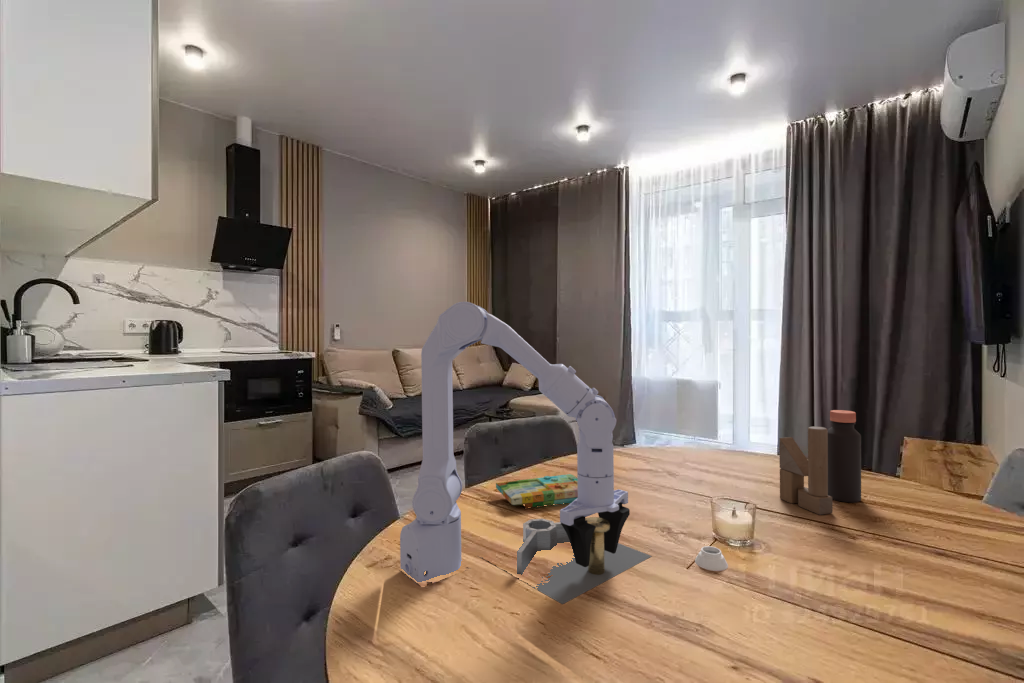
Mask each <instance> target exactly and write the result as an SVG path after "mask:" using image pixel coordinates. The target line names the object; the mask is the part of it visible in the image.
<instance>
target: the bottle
mask: <svg viewBox="0 0 1024 683" xmlns="http://www.w3.org/2000/svg"><path fill="white" fill-rule="evenodd" d="M829 421H830V423H831V427H829V428H828V429H827V430H828V496H831V497H832V501H833V500H834V501H837V502H841V503H842V502H843V503H858V502H861V501H862V434H861V433H859V432H858V430H856V428H855V425H856V422H857V413H856V412H855V411H852V410H844V409H833V410H832V409H831V410H830V411H829Z"/></svg>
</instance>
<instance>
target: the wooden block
mask: <svg viewBox="0 0 1024 683" xmlns="http://www.w3.org/2000/svg"><path fill="white" fill-rule="evenodd" d="M778 443H779V446H778V447H779V449H778V450H779V499H780V500H782V501H785V502H787V503H788V504H789V503H790V504H793V505H794V504H797V505H798V507H800V508H802V509H804V510H807V511H808V512H809V511H810V512H812V513H813V514H816V515H819V516H820V515H821V516H822V515H827V514H828V515H829V514H832V513H833V508H834V506H833V499H832V497H831V496H828V429H827V428H826V427H824V426H809V427H807V457H806V455H805V454H804V453H803V451H802V449H801V448H800V446H799V445H798V443H797V442H796V440H795V439H794V438H793V437H792V436H789V437H787V436H785V437H780V438H779V442H778ZM805 477H807V484H808V485H807V487H806V486H805Z"/></svg>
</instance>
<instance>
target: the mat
mask: <svg viewBox="0 0 1024 683" xmlns="http://www.w3.org/2000/svg"><path fill="white" fill-rule="evenodd" d="M573 556H574V555H573ZM604 556H605V572H604V573H603V574H601V575H594V574H591V573H590V572H589V571H588V566H587V567H583V566H581V565H579V564H577V563H576V561H575V558H572V559H573V561H572V560H571V562H569V563H568V562H566V563H567V564H566V565H563V564H562V563H560V564H561V565H562V566H561V565H559V563H557V565H558V566H559V567H556V566H553V567H552V568H553V569H551V570H550V571H551V572H550V573H548V574H549V575H548V576H551V575H553V576H551V577H550V578H548V580H545V581H549V580H550V581H549V582H548V583H543V584H544V585H542V583H540V584H537V585H539V586H536V587H538V588H537V589H538V590H537V591H538V592H540V593H542V594H544V595H546V596H547V597H549V598H551V599H552V600H553V601H556V602H558V603H559V604H561V605H564V604H566V603H568V602H569V601H571V600H573V599H575V598H577V597H580V595H581V596H582V595H583V594H585V593H586V592H588V591H590V590H592V589H594V588H596V587H598V586H599V585H602V584H603V583H605V582H608V580H611V579H612V578H614V577H616V576H619V575H621V573H624V572H625V571H628V570H630V569H631V568H633V567H635V566H636V565H639V564H640V563H642V562H644V561H646V560H648V559H650V558H652V557H653V556H652V555H650V554H648V553H645V552H643V551H640V550H638V549H634V548H632V547H630V546H627V545H625V544H622V543H619V542H618V546H617V550H616V553H614V554H613V553H610V552H608V551H605V550H604ZM548 576H546V577H548ZM542 578H543V577H542ZM541 582H543V581H541ZM532 589H535V587H532Z"/></svg>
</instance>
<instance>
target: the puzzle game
mask: <svg viewBox="0 0 1024 683" xmlns="http://www.w3.org/2000/svg"><path fill="white" fill-rule="evenodd" d="M495 488H496V489H497V491H498V492H499V493H500V494H501V496H503V497H504V498H505V499H506V500H507V501H508V503H510V504H511V505H512V506H522V505H523V504H525V508H528V507H537V506H544V505H553V504H562V505H564V504H563V503H569V504H571V503H572V502H573V501H574V500H575V499H577V498H578V483H577V476H575V475H574V474H571V473H569V474H560V475H552V476H551V475H550V476H549V475H544V476H543V477H536V478H535V477H534V478H527V479H518V480H510V481H501V482H495ZM525 508H524V509H525Z"/></svg>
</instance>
